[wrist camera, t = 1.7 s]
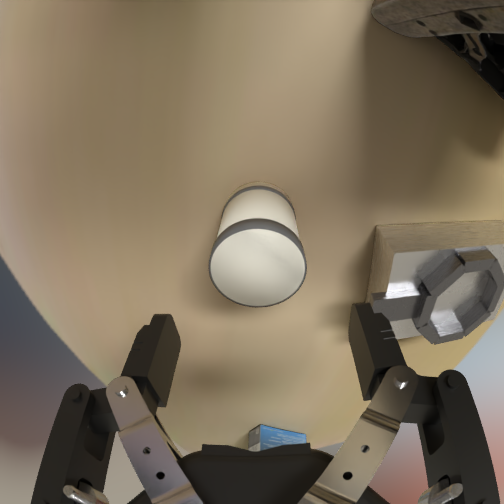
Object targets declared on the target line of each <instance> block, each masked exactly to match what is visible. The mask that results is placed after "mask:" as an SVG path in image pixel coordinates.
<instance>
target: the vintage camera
mask: <svg viewBox="0 0 504 504" xmlns="http://www.w3.org/2000/svg"><path fill="white" fill-rule="evenodd" d="M371 13H372V15H373V17H374V18H375V19H376V20H377V21H378V22H379V23H380V24H382V25H384V26H385V27H387V28H389V29H390V30H392V31H394V32H396V33H398V34H402V35H405V36H408V37H417V38H419V37H431V36H435V37H437V38H438V39H439V40H441V41H442V42H443V43H444V44H445V45H447V46H448V47H449V48H450V49H451V50H453V51H454V52H455V53H456V54H457V55H458V56H460V57H462V58H463V59H465V60H466V61H467V62H468V63H469V64H470V66H471V67H472V68H473V69H474V70H475V71H476V72H477V73H478V74H479V75H480V76H481V77H482V78H483V79H484V80H485V81H486V82H487V83H488V84H489V85H490V86H491V87H492V88H493V89H494V90H495V91H496V92H497V93H498V94H499V95H500V96H501V97H502V98H503V99H504V0H374V3H373V5H372V9H371Z"/></svg>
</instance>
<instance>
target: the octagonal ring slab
mask: <svg viewBox="0 0 504 504" xmlns="http://www.w3.org/2000/svg"><path fill="white" fill-rule="evenodd" d="M503 299H504V222H503V221H501V220H497V221H467V222H441V223H418V224H397V225H378V226H376V233H375V241H374V249H373V257H372V264H371V271H370V278H369V284H368V290H367V296H366V302H369V303H370V304H371V306H372V309H373V312H374V313H382V314H383V315H384V316H385V317H386V318H387V319H388V320H389V322H390V324H391V326H392V330H393V331H394V334H395V338H396V339H403V338H409V337H415V336H420V335H423V336H424V337H425V338H426V339H427V340H428V341H429V342H430V343H431V344H433V343H434V345H435V344H440V343H444V342H449V341H453V340H457V339H462V338H463V336H465V337H466V336H467V335H468V334H469V333H471V332H472V331H473V330H474V329H475V328H477V327H478V326H479V325H480V324H481V323H482V322H485V321H489V320H493V319H494V318H495V316H496V314H497V312H498V310H499V308H500V306H501V303H502V301H503ZM366 302H365V303H366Z"/></svg>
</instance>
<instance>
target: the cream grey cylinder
mask: <svg viewBox="0 0 504 504" xmlns="http://www.w3.org/2000/svg"><path fill="white" fill-rule="evenodd" d="M306 271H307V264H306V258H305V254H304V249H303V246H302V244H301V242H300V239H299V234H298V229H297V225H296V217H295V212H294V209H293V206H292V203H291V201H290V199H289V197H288V196H287V195H286V193H285V192H284V191H282V190H281V189H280V188H278V187H277V186H275V185H272V184H270V183H266V182H252V183H248V184H245V185H243V186H241V187H239V188H238V189H236V190H235V191H234V192H233V193H232V194H231V195H230V197H229V198H228V200H227V202H226V205H225V207H224V210H223V214H222V220H221V224H220V228H219V232H218V236H217V239H216V241H215V243H214V245H213V248H212V252H211V255H210V260H209V274H210V278H211V280H212V282H213V284H214V286H215V287H216V289H217V290H218V291H219V292H220V293H221V294H222V295H223V296H225V297H226V298H227V299H229V300H231V301H233V302H235V303H237V304H240V305H243V306H248V307H268V306H273V305H276V304H279V303H281V302H284V301H285V300H287V299H289V298H290V297H291V296H293V295H294V294H295V293H296V292H297V291H298V290H299V288H300V287H301V285H302V284H303V282H304V279H305V276H306Z"/></svg>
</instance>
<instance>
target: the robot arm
mask: <svg viewBox="0 0 504 504" xmlns="http://www.w3.org/2000/svg"><path fill="white" fill-rule="evenodd" d="M348 333H349V342H350V346H351V350H352V354H353V358H354V362H355V366H356V370H357V374H358V378H359V382H360V387H361V391H362V396H363V400H364V401H367V400H371V402H370V404H369V406H368V407H367V409H366V411H365V412H363V414H362V415H361V417H360V418H359V420H358V422H357V423H356V425H355V426H354V428H353V430H352V431H351V433H350V434H349V436H348V437H347V439H346V440H345V442H344V443H343V445H342V447H341V448H340V450H339V451H338V453H337V454H336V455H335V457H334V456H332V455H330V454H328V453H326V452H323V451H319V450H316V449H311V448H310V443H301V444H287V445H280V446H277V447H273V448H269V449H265V450H261V451H249V450H245V449H241V448H236V447H232V446H229V445H207V444H202V450H201V451H197V452H193V453H191V454H188V455H186V456H184V457H183V456H182V455H181V453H180V452H179V451H178V449H177V448H176V446H175V445H174V443H173V442H172V440H171V438H170V437H169V435H168V433H167V432H166V430H165V428H164V426H163V425H162V423H161V421H160V419H159V418H158V416H157V414H156V411H157V407H166V405H167V401H168V397H169V392H170V388H171V384H172V380H173V376H174V372H175V368H176V364H177V360H178V356H179V352H180V348H181V341H180V336H179V334H178V331H177V328H176V326H175V323H174V320H173V317H172V315H171V314H154V315H153V317H152V320H151V322H150V325H144V326H143V328H142V329H141V330H140V331H139V332H138V333H137V335H136V338H135V340H134V344H133V345H132V348H131V351H130V353H129V355H128V358H127V361H126V363H125V366H124V368H123V371H122V374H121V376H120V377H117V378H115V379H113V380H112V381H111V382H110V383H109V384H108V386H107V388H102V389H96V390H89V389H88V387H87V386H85V385H84V384H75V385H72V386H71V387H69V388H68V389H67V391H66V392H65V394H64V397H63V399H62V402H61V405H60V407H59V410H58V413H57V416H56V418H55V421H54V424H53V427H52V430H51V433H50V436H49V439H48V442H47V445H46V448H45V452H44V455H43V458H42V462H41V466H40V469H39V472H38V476H37V480H36V484H35V488H34V492H33V496H32V500H31V504H109V501H108V499H107V498H106V496H105V495H104V494H103V490H104V485H105V479H106V474H107V469H108V464H109V460H110V455H111V451H112V446H113V442H114V437H115V433H116V431H119V432H118V434H119V437H120V440H121V442H122V444H123V447H124V449H125V451H126V453H127V455H128V457H129V459H130V462H131V464H132V466H133V467H134V470H135V472H136V474H137V476H138V478H139V479H140V481H141V483H142V485H143V487H144V489H145V490H143V491H142V492H141V493H140V494H138V495H137V496H136V497H135V498H134V499H132V500H131V501H130V502H129V503H127V504H390V503H389V502H387V501H386V500H385V499H384V498H382V497H381V496H380V495H379V494H378V493H376V492H375V491H374V490H373V489H372V488H370V487H369V486H368V484H369V482H370V481H371V479H372V478H373V476H374V474H375V473H376V471H377V469H378V467H379V466H380V464H381V462H382V460H383V459H384V457H385V455H386V453H387V451H388V450H389V448H390V446H391V444H392V442H393V440H394V438H395V436H396V434H397V432H398V430H399V428H400V423H401V422H404V423H417V426H418V430H419V435H420V440H421V445H422V450H423V456H424V461H425V467H426V473H427V480H428V487H429V488H428V489H427V490H426V491H424V492H423V493H422V495H421V496H420V498H419V500H418V504H500V499H499V493H498V487H497V482H496V477H495V473H494V468H493V464H492V460H491V456H490V452H489V448H488V444H487V441H486V437H485V434H484V430H483V427H482V424H481V420H480V417H479V414H478V411H477V408H476V405H475V403H474V400H473V397H472V394H471V391H470V388H469V386H468V383H467V381H466V378H465V377H464V376H463V375H462V374H461V373H460V372H458V371H456V370H446V371H444V372H442V373H441V374H440V375H439V377H427V376H420V375H417V374H416V372H415V371H414V370H413V369H411V368H410V367H408V366H407V365H406V362H405V360H404V357H403V354H402V352H401V349H400V346H399V344H398V341H397V339H396V338H395V334H394V331H393V330H392V326H391V324H390V322H389V320H388V319H387V318H386V317H385V316H384V315H383V314H382V313H374V312H373V309H372V306H371V304H370V303H369V302H366V303H357V304H353V305H352V309H351V316H350V322H349V330H348Z"/></svg>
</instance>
